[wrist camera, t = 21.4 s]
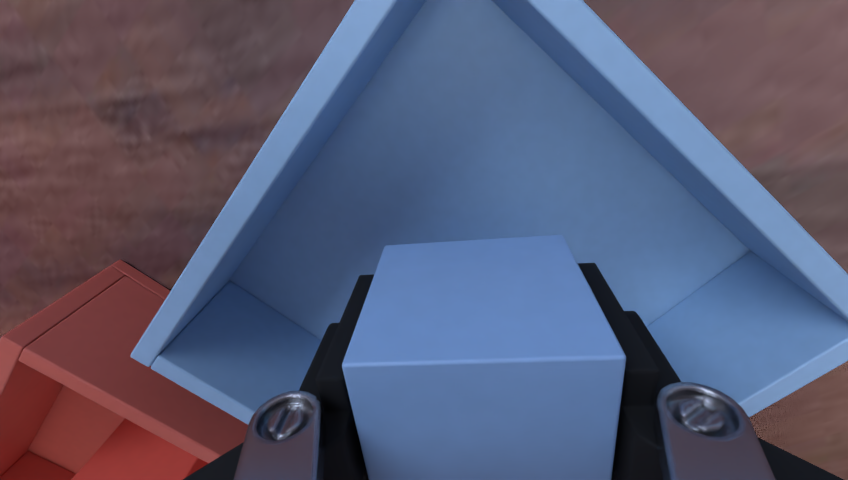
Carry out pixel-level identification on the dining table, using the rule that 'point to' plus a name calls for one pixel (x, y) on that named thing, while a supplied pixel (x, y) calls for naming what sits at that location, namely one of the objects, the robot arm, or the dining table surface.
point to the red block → (138, 457)
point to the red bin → (95, 382)
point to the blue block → (484, 365)
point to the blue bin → (498, 203)
